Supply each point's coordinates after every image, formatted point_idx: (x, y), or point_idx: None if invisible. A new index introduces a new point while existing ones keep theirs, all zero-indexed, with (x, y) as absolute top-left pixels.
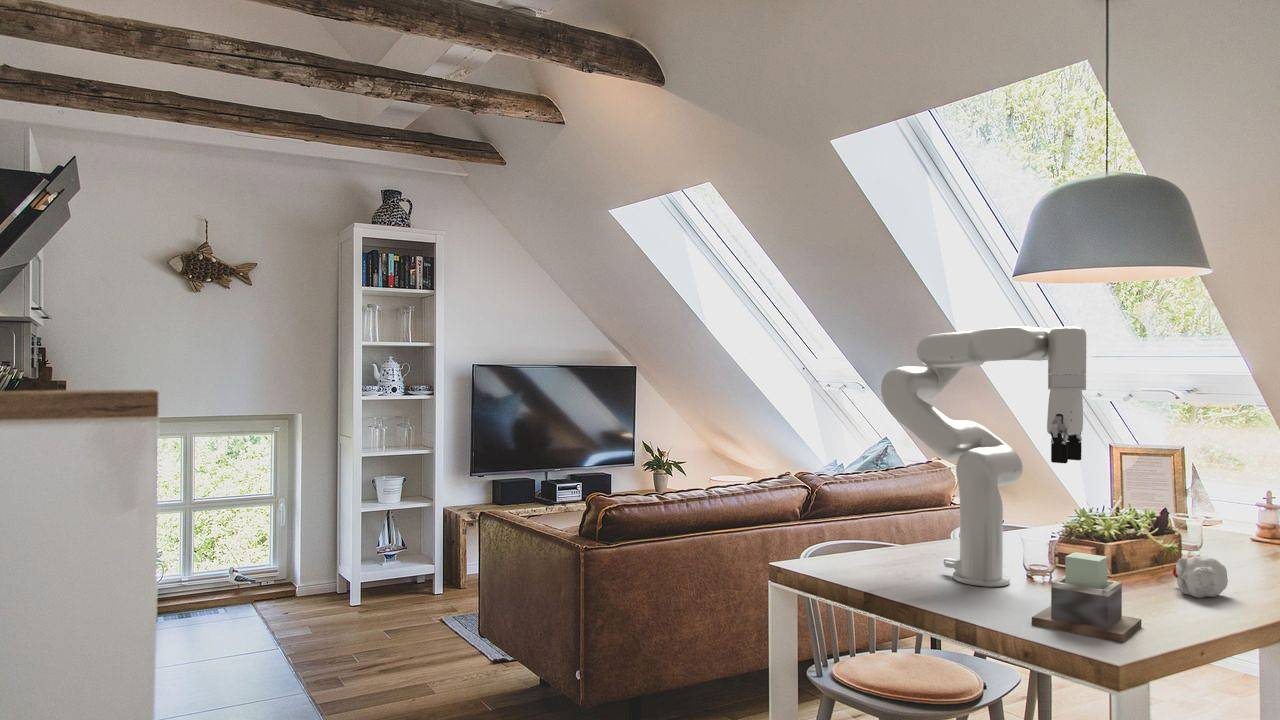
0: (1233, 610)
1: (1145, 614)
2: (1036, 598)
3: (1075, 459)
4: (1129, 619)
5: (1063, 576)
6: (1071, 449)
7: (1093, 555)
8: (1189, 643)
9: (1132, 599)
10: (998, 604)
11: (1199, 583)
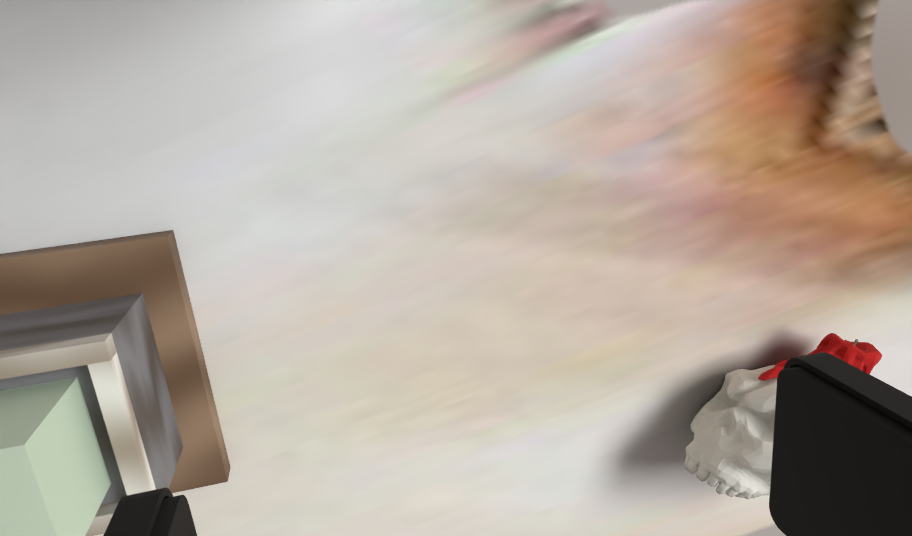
0: (628, 513)
1: (391, 413)
2: (293, 106)
3: (773, 475)
4: (188, 466)
5: (29, 358)
6: (890, 518)
7: (29, 529)
8: None
9: (550, 315)
10: (59, 47)
11: (688, 464)
